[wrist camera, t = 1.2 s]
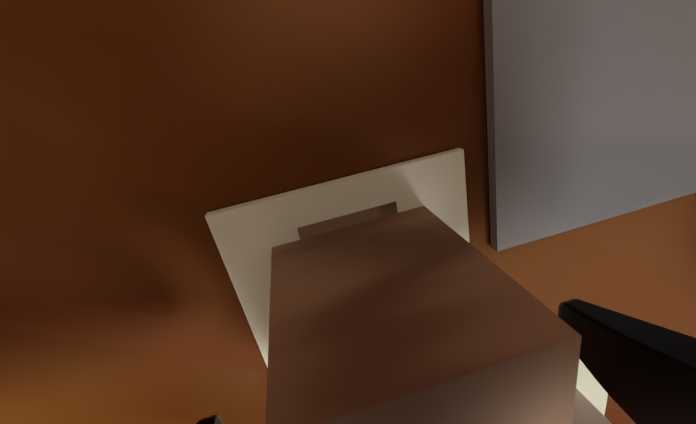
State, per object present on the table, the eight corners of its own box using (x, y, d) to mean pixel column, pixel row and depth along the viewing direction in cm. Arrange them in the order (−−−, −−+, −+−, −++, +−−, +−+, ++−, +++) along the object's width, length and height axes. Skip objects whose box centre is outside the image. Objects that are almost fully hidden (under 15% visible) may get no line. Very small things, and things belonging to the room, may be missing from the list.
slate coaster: (803, -152, 9) (825, -161, 9) (717, 179, 13) (729, 182, 13) (480, -96, 8) (489, -104, 8) (490, 246, 12) (497, 251, 12)
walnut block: (424, 205, 11) (581, 335, 5) (437, 323, 13) (562, 509, 7) (271, 247, 10) (264, 443, 5) (311, 363, 12) (339, 599, 7)
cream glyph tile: (458, 147, 10) (464, 149, 10) (471, 335, 14) (475, 341, 13) (206, 212, 10) (204, 216, 9) (282, 397, 13) (282, 404, 12)
